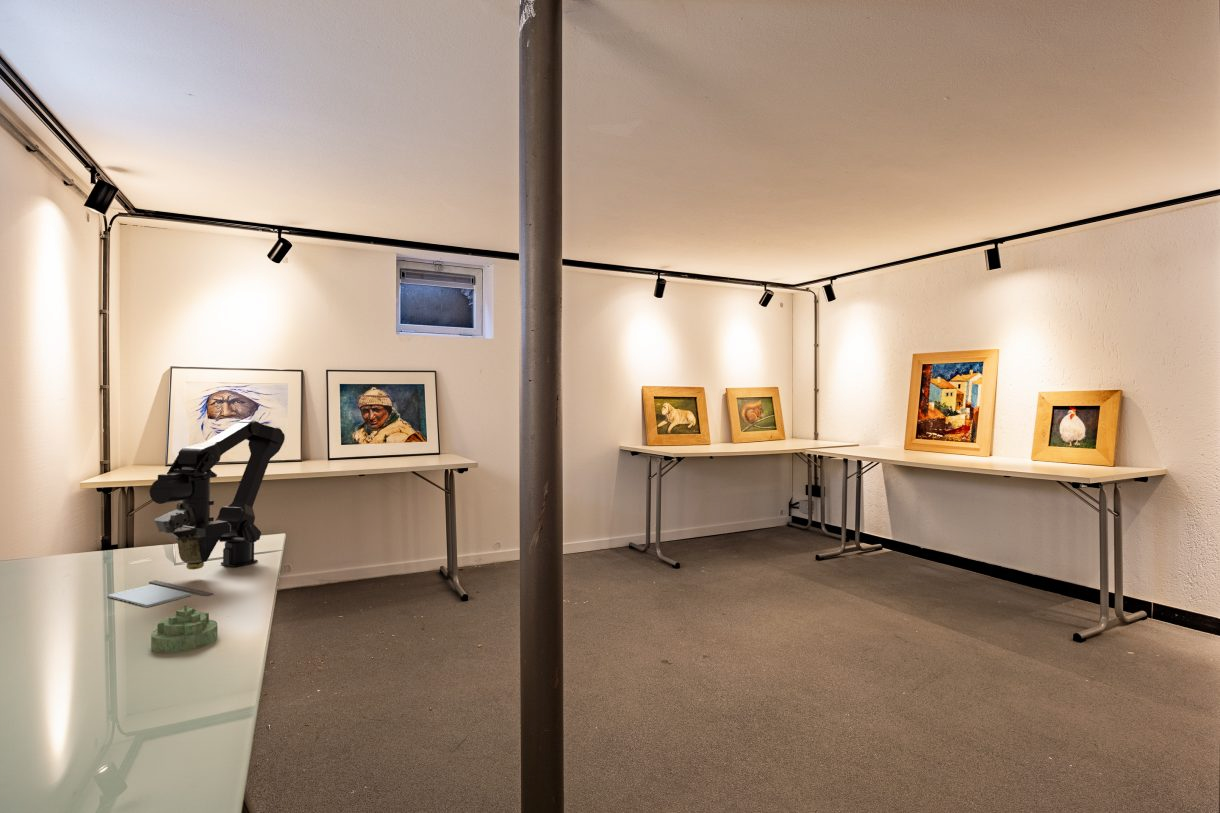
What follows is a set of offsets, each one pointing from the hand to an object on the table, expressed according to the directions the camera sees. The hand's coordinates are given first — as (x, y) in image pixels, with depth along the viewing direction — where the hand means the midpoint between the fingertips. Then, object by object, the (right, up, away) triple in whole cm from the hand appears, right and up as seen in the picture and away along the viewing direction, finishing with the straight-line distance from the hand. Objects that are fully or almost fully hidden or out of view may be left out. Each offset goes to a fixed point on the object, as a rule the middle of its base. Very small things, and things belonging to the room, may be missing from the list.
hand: (195, 560), depth 150 cm
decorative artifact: (+25, -6, -39) cm, 46 cm away
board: (-1, -5, -14) cm, 15 cm away
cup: (0, -2, 0) cm, 2 cm away
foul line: (+2, -5, -8) cm, 9 cm away
